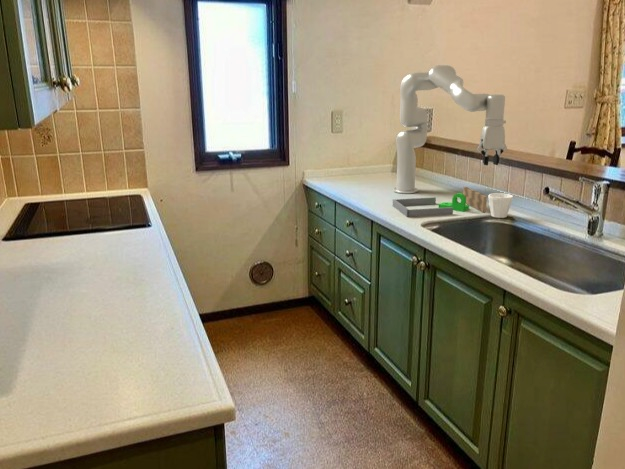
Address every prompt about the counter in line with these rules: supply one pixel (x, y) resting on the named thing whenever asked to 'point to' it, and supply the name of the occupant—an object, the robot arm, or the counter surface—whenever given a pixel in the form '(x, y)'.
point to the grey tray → (401, 204)
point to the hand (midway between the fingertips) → (490, 164)
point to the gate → (475, 199)
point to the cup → (499, 204)
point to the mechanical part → (456, 203)
